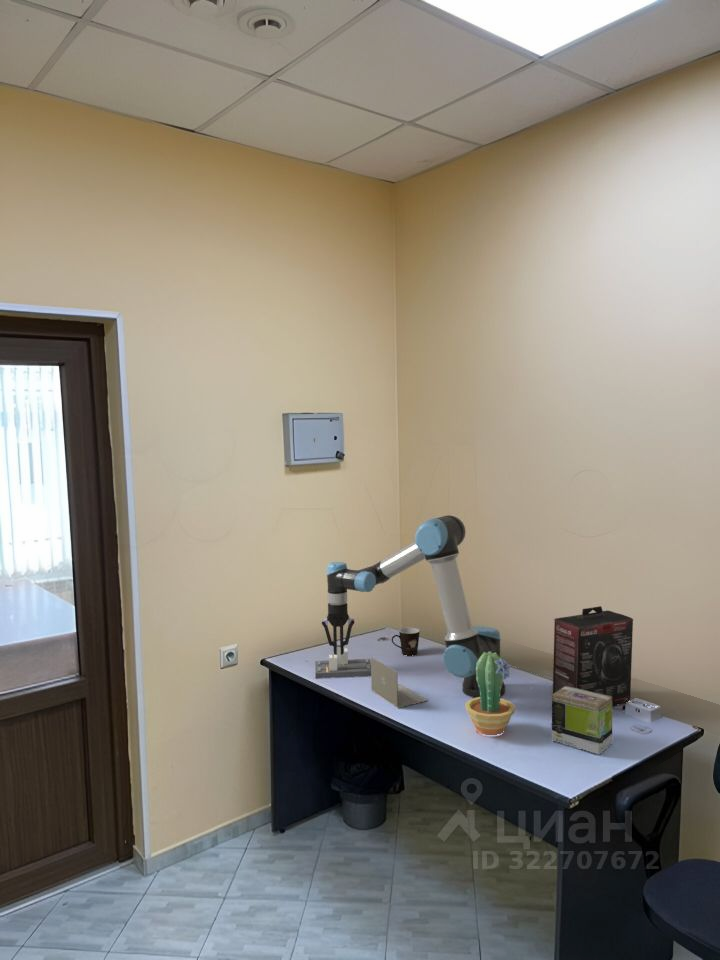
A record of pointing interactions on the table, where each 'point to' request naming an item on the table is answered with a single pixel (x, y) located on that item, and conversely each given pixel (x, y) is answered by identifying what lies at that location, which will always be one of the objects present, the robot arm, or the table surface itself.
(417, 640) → the coffee mug
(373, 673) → the laptop
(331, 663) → the fader
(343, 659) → the fader
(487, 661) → the potted cactus
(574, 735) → the tea box
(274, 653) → the table surface
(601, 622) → the headset box
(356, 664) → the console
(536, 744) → the table surface
